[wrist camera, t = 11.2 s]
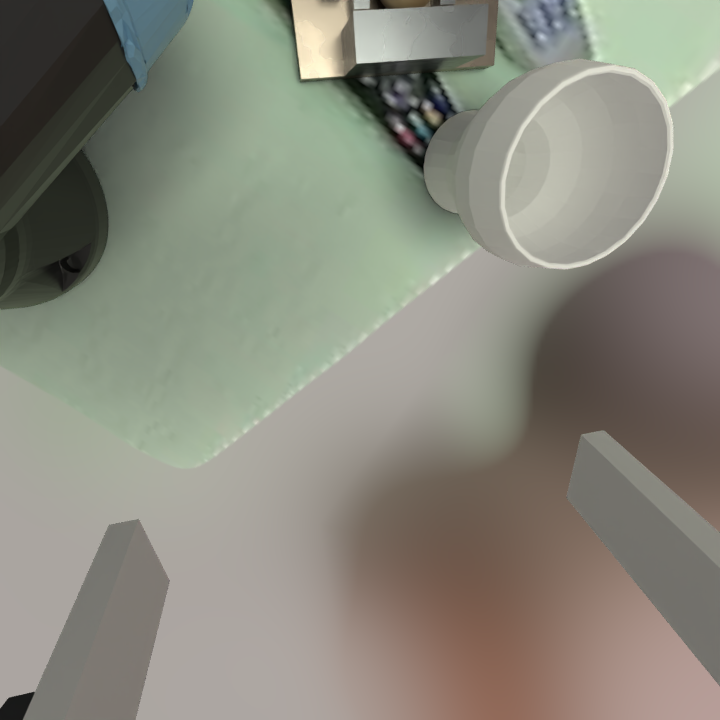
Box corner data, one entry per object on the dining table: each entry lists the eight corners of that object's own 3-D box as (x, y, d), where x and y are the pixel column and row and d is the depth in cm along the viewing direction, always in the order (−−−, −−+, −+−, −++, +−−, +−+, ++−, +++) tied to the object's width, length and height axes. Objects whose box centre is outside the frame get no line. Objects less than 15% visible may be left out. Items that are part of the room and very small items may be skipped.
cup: (379, 167, 33) (447, 183, 20) (478, 52, 30) (631, -17, 17) (459, 255, 37) (556, 315, 24) (550, 161, 35) (713, 173, 22)
